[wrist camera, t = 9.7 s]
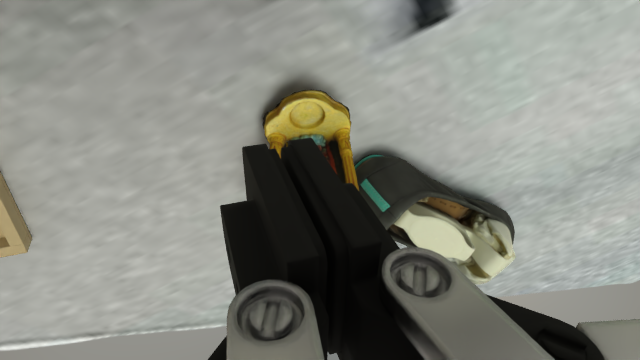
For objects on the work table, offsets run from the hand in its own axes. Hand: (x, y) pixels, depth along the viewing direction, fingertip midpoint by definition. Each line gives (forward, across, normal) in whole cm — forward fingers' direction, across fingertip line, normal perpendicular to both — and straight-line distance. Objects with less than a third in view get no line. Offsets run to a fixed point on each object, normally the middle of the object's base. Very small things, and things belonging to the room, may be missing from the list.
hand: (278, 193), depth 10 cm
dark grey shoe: (+27, -26, +26) cm, 46 cm away
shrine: (+27, -8, +13) cm, 31 cm away
